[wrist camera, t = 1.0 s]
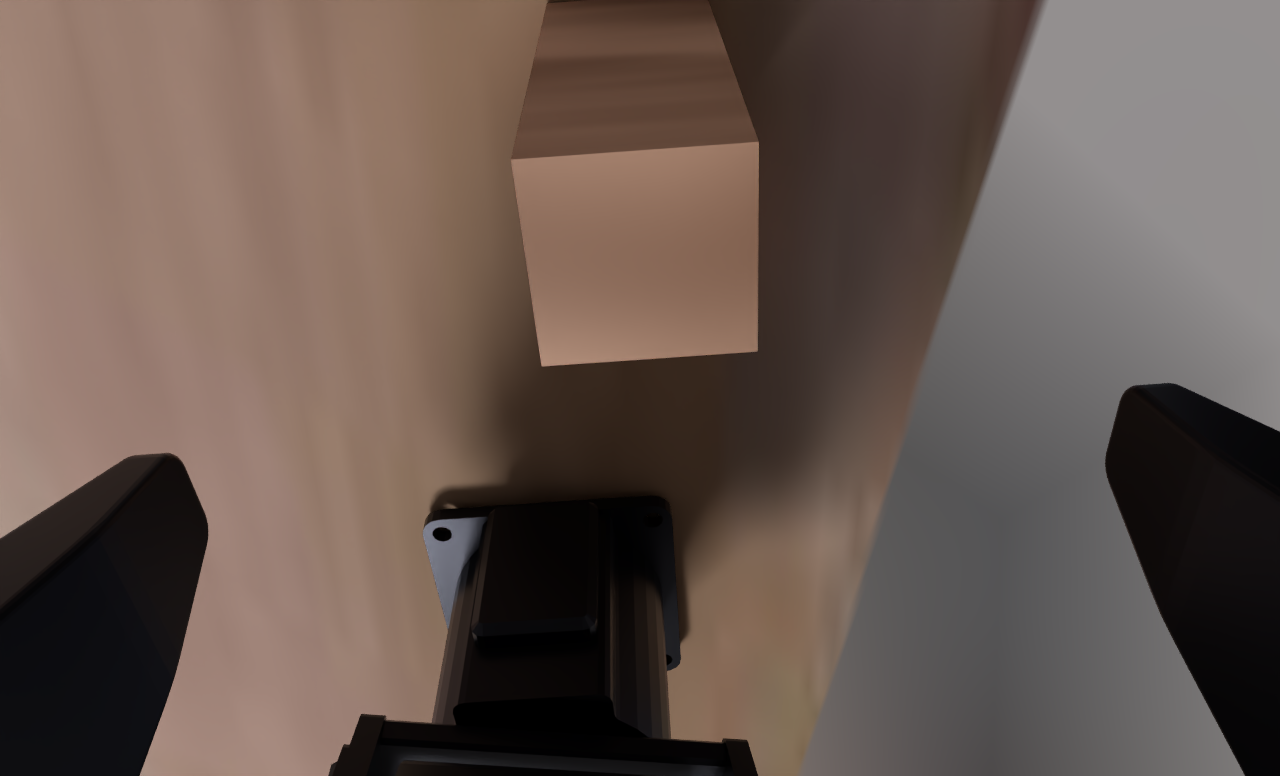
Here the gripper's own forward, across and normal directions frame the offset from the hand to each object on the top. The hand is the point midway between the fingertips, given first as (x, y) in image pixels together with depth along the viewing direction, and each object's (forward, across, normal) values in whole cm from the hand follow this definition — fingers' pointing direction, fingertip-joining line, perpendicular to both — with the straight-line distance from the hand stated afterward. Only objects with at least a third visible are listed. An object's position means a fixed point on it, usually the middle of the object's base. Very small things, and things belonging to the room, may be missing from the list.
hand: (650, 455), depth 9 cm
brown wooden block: (+12, 0, 0) cm, 12 cm away
